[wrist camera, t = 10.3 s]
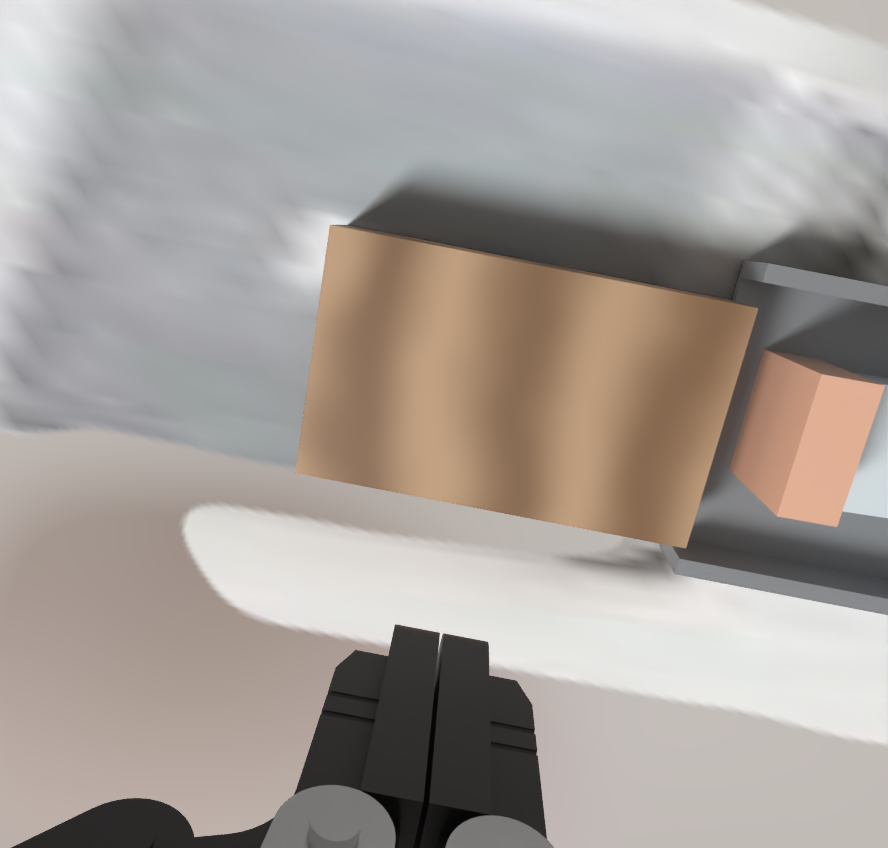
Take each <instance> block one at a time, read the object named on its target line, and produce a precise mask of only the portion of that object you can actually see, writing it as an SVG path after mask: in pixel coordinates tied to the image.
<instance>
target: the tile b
mask: <svg viewBox="0 0 888 848" xmlns="http://www.w3.org/2000/svg"><path fill="white" fill-rule="evenodd" d="M855 374H857V375H860V376H862V377H865V378H867V379H870V380H873V381H875V382H878V383H880V384H883V385H885V388H884V391H883V394H882V397H881V400H880V403H879V405H878V408H877V411H876V414H875V417H874V420H873V423H872V426H871V429H870V432H869V435H868V438H867V441H866V444H865V447H864V450H863V453H862V455H861V458H860V461H859V464H858V467H857V470H856V473H855V476H854V479H853V482H852V485H851V488H850V491H849V494H848V497H847V500H846V502H845V505H844V508H843V512H849V513H856V514H863V515H869V516H876V517H883V518H888V378H885V377H879V376H872V375H865V374H859V373H855Z"/></svg>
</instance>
